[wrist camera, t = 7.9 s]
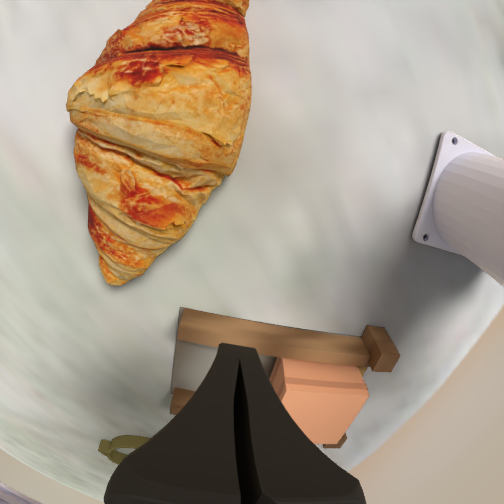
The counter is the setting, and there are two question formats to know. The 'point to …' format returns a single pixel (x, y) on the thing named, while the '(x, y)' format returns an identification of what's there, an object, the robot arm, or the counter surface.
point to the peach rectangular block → (319, 396)
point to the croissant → (160, 126)
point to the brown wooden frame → (268, 349)
